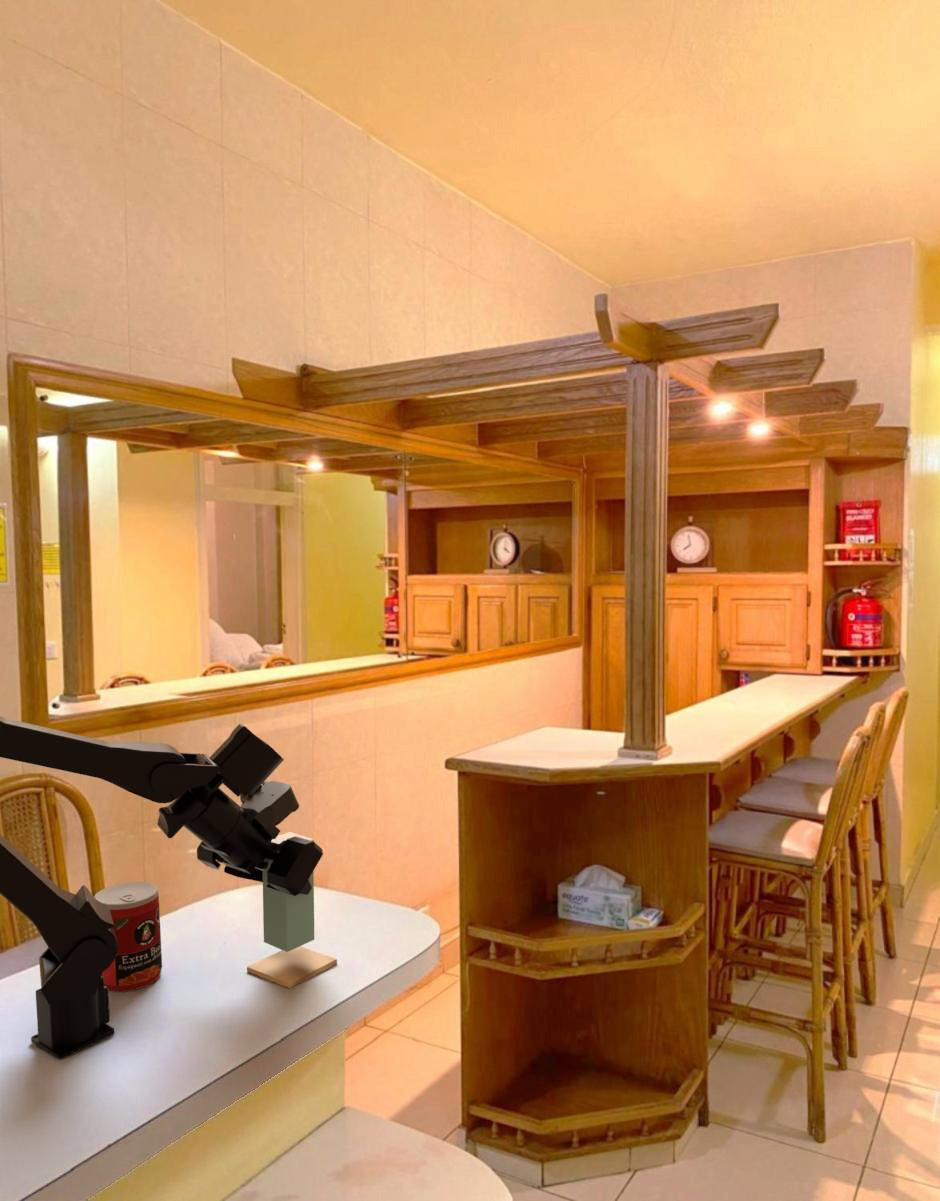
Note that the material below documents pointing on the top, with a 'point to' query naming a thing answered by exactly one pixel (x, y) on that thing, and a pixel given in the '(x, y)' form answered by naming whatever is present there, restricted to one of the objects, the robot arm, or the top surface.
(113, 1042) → the top surface
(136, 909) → the canned food
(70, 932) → the robot arm
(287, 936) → the tea tin
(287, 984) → the coaster
